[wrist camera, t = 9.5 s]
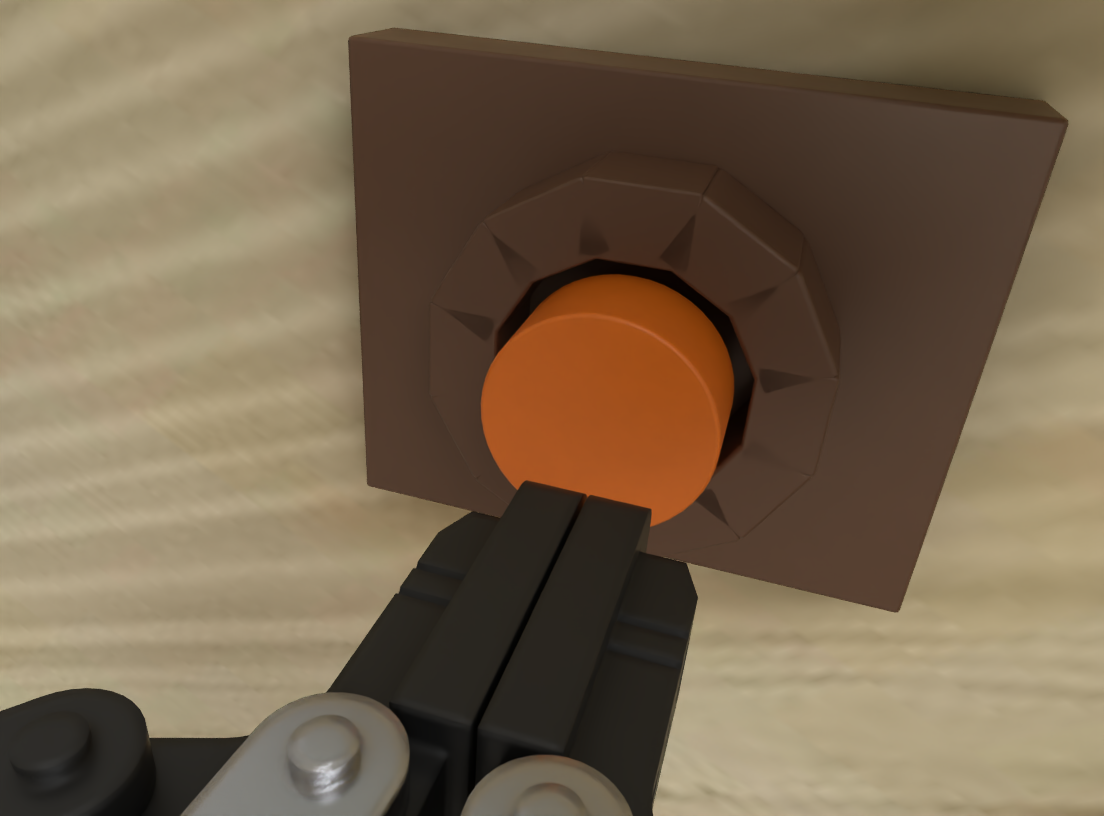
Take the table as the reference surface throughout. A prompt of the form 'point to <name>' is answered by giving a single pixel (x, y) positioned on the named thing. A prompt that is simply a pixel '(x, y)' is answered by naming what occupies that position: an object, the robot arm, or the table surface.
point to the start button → (612, 395)
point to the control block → (697, 273)
